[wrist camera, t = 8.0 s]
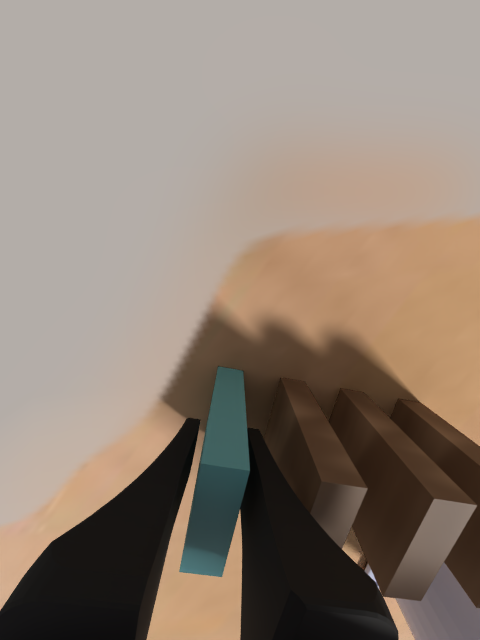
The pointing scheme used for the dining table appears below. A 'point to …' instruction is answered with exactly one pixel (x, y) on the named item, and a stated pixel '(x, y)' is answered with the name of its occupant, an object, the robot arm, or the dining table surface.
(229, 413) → the domino teal placed
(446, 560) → the domino
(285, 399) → the domino
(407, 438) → the domino
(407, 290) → the dining table surface
